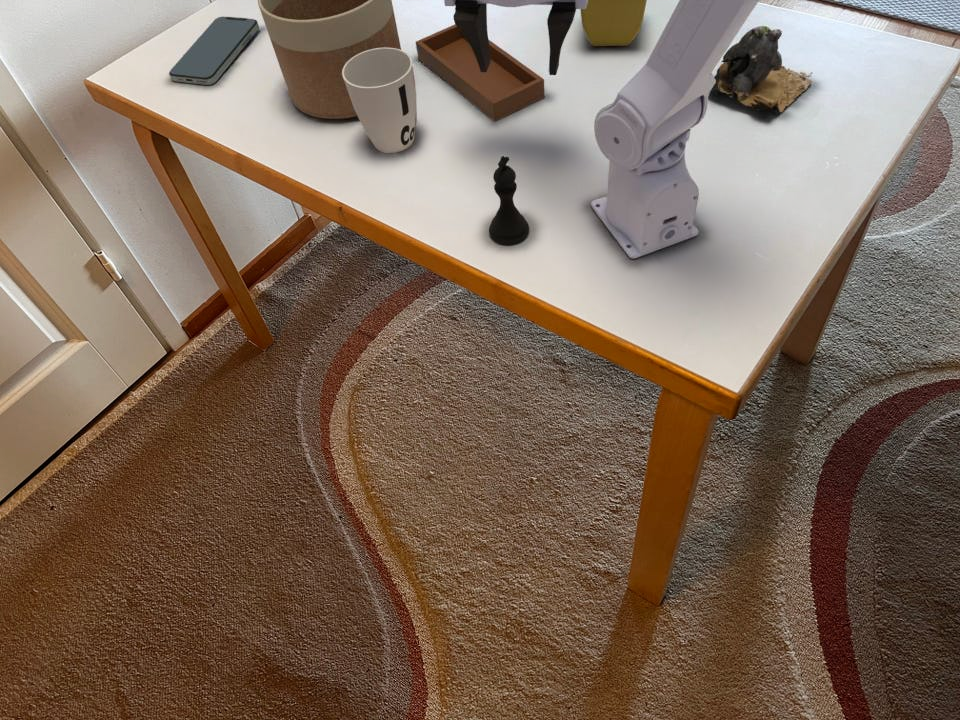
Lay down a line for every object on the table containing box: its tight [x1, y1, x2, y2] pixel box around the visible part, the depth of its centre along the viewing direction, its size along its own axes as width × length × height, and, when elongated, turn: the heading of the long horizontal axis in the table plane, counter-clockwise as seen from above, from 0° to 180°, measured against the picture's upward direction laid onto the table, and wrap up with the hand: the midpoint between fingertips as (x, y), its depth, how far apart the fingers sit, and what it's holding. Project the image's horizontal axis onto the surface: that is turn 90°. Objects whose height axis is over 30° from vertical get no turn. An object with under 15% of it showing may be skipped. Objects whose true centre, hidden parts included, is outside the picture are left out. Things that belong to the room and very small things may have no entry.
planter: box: [257, 0, 402, 120], centre depth 92 cm, size 16×16×14 cm
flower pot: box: [579, 0, 648, 47], centre depth 95 cm, size 9×9×9 cm
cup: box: [342, 48, 418, 154], centre depth 86 cm, size 8×8×10 cm
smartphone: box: [168, 16, 260, 86], centre depth 105 cm, size 8×2×15 cm
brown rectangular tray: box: [415, 23, 546, 123], centre depth 95 cm, size 19×8×3 cm, turn 34°
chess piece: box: [488, 155, 530, 246], centre depth 74 cm, size 4×4×10 cm
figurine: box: [711, 25, 814, 119], centre depth 84 cm, size 10×10×10 cm
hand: (519, 68), depth 78 cm, fingers open, 7 cm apart
